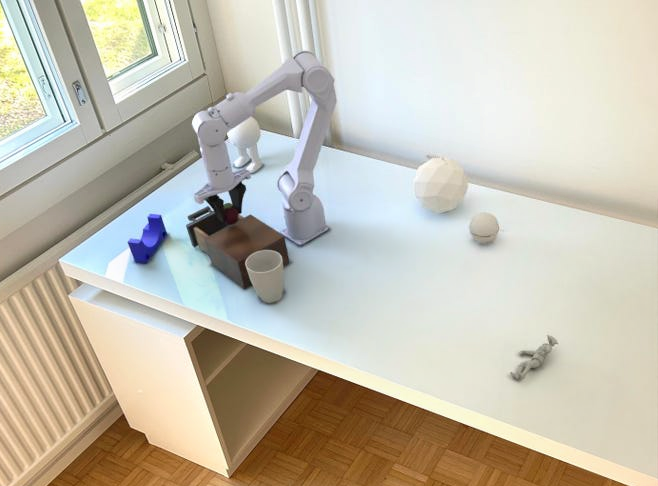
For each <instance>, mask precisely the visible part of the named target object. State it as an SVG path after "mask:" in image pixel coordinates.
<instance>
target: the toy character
mask: <svg viewBox="0 0 658 486" xmlns="http://www.w3.org/2000/svg"><path fill="white" fill-rule="evenodd" d="M229 129H230V128H229ZM226 137H227V138H228V140H229V142H230V143H231V144H232V145H234V147H236V148H237V151H238V155H239V157H238V158H236V159H235V161H234V167H236V168H241V167H244V165H246V164H248V163H249V162H250V160H251V163H249V164H248V166H247V167H246V169H247V170H249V171H250V174H253V173H254V174H255V172H258V170H259V169H261V167H262V166H263V163H262V160H261V159H260V156H259V155H260V154H259V149H258V143H259V141H260V138H261V127H260V125H259V123H258V121H257V120H256V118H254V117H253V116H251V117H250V118H248V119H247V120H245V121H244V122H242V123H241V124H239V125H238V126H236V127H235V128H233V129H231V130H230V131H229V132H228V133H227V134H226ZM247 149H248V152H249V153H248V152H247Z"/></svg>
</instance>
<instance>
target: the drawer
mask: <svg viewBox="0 0 658 486" xmlns="http://www.w3.org/2000/svg"><path fill="white" fill-rule="evenodd" d="M244 217H245V216H242V215H241V214H239V215H238V218H237V219H238V221H239V220H241V219H243V218H244ZM187 219H188V221H189V223H187V224H185V227H186V230H187V233H188V237H189V240H190V243H191V247H193V248H197V247H198V248H199V249H200V250H202V251H203V252H204V253H206V254H207V255H209V252H208V249H207V246H206V242H205V238H206V237H208V236H210V235H212V234H214V233H216V232H218V231H220V230H222V229H224V228H225V227H227V226H229V225H228V224H226V223H225V222H224V223H223V222H222V221H220V220H219V219H218V217H217V215H216V213H215V212H214V210H213V209H212V208H211V206H210V205H207V206H205V207H203V208H201V209H199V210H197V211H195V212H193V213H191V214H189V215H187Z"/></svg>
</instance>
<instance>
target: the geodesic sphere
mask: <svg viewBox="0 0 658 486" xmlns="http://www.w3.org/2000/svg"><path fill="white" fill-rule="evenodd" d="M425 157H426V158H427V159H428V161H426V162H425V163H423V164H421V165H420V166H418V167H417V171H416V173H415V176H414V179H413V182H412V185H413V192H414V193H413V194H414V196H415V197H416V199H417V200H418V202H419V203H420V204H421V206H422V207H423V208H424V209H426V210H429V211H431V212H434V213H436V214H441V213H445V212H449V211H452V210H454V209H455V208H457V207H458V206H460V205H461V204H462V203H463V202H464V199H465V197H466V194H467V191H468V189H469V183H468V178H467V174H466V172H465V171H464V168H463V167H461V165H460V164H459V163H458V161H456V160H453V159H451V158H449V157H446V156H444V155H442V156H436V155H434V154H428V155H425Z"/></svg>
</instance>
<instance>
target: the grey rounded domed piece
mask: <svg viewBox="0 0 658 486" xmlns="http://www.w3.org/2000/svg"><path fill="white" fill-rule="evenodd" d="M468 230H469V234H470V236H471V237H472V239H473V240H475V241H476V242H477V243H483V244H484V243H485V244H487V243H489V242H492V241H493V240H494V239H495V238H497V236H498V233H499V232H503V230H502V229H501V230H500V224H499V221H498V219H497V217H496V216H495V215H493V214H492V213H490V212H487V211H483V212H479V213H477V214H475V215H474V216H473V217H472V218H471V220H470V221H469V224H468Z"/></svg>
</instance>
